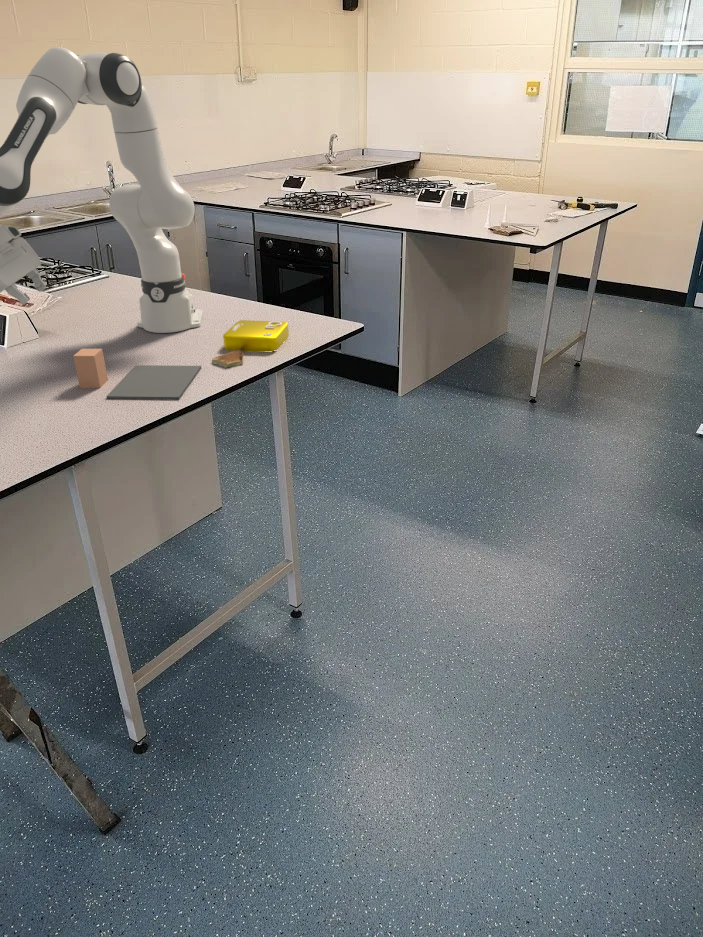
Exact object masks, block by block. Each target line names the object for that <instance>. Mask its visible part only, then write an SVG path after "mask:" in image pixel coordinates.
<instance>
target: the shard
mask: <svg viewBox="0 0 703 937" xmlns="http://www.w3.org/2000/svg"><path fill="white" fill-rule="evenodd" d="M214 363H216V364H215V365H217V364H219V365H218V366H221V367H223V366H224V367H223V368H225V367H226V368H229V367H234V366H233V365H235V366H240V365H239V364H242V365H244V351H243V348H241V349H238V350H236V351H229V352H226V353H223V354H220V355H218V356H215V357H213V358H211V364H214Z"/></svg>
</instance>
